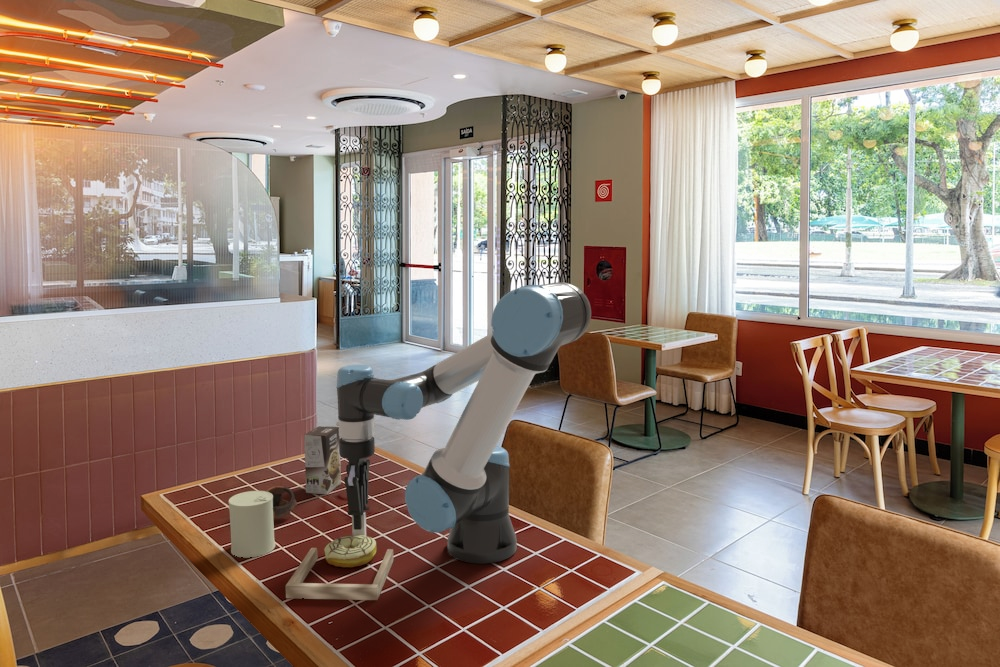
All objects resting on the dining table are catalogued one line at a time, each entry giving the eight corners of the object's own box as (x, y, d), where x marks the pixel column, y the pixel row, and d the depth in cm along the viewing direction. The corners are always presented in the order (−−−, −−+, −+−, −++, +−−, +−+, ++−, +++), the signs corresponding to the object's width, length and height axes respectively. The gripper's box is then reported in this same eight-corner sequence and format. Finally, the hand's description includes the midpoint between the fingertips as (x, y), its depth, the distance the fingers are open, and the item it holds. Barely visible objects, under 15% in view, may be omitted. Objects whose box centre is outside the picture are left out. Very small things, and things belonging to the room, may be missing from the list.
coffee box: (327, 495, 185) (325, 435, 183) (305, 493, 186) (302, 434, 184) (342, 483, 194) (340, 426, 192) (320, 481, 195) (318, 425, 193)
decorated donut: (331, 548, 154) (330, 531, 154) (380, 548, 154) (379, 531, 154) (319, 570, 144) (319, 552, 143) (372, 570, 144) (371, 552, 144)
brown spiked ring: (299, 507, 178) (302, 486, 173) (287, 537, 170) (291, 515, 166) (251, 497, 177) (253, 475, 172) (238, 527, 169) (239, 504, 164)
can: (261, 559, 148) (258, 505, 147) (222, 555, 150) (219, 502, 149) (283, 541, 157) (280, 490, 156) (245, 537, 159) (243, 487, 158)
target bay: (393, 560, 148) (393, 549, 148) (377, 600, 132) (377, 587, 132) (311, 559, 149) (311, 547, 149) (285, 598, 133) (285, 585, 132)
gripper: (347, 428, 158) (350, 528, 161) (330, 445, 145) (334, 553, 149) (380, 429, 158) (382, 528, 161) (366, 446, 145) (369, 554, 148)
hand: (359, 540), depth 155 cm, fingers closed
